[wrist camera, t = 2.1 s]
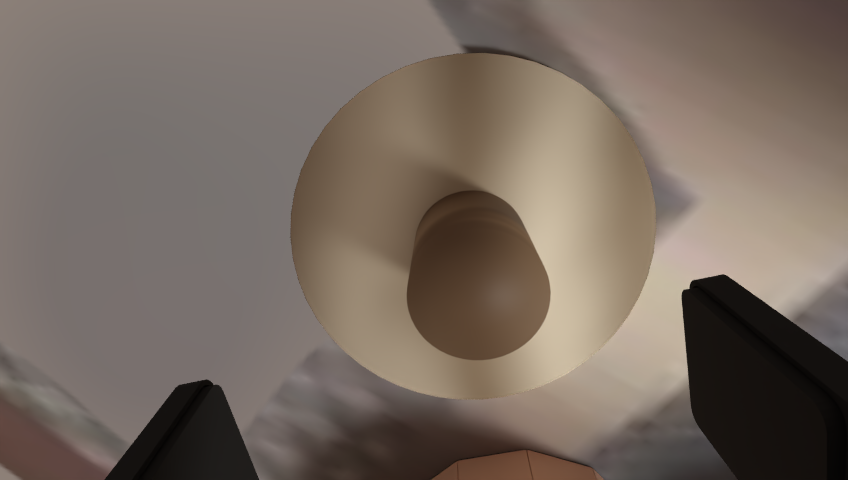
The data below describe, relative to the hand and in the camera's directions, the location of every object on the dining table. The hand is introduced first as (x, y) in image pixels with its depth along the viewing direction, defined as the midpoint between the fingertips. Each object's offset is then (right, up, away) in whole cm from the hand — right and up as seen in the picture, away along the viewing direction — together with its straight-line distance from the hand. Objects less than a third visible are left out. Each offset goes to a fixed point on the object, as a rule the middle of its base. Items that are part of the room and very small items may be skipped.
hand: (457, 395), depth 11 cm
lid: (+1, +3, +9) cm, 10 cm away
